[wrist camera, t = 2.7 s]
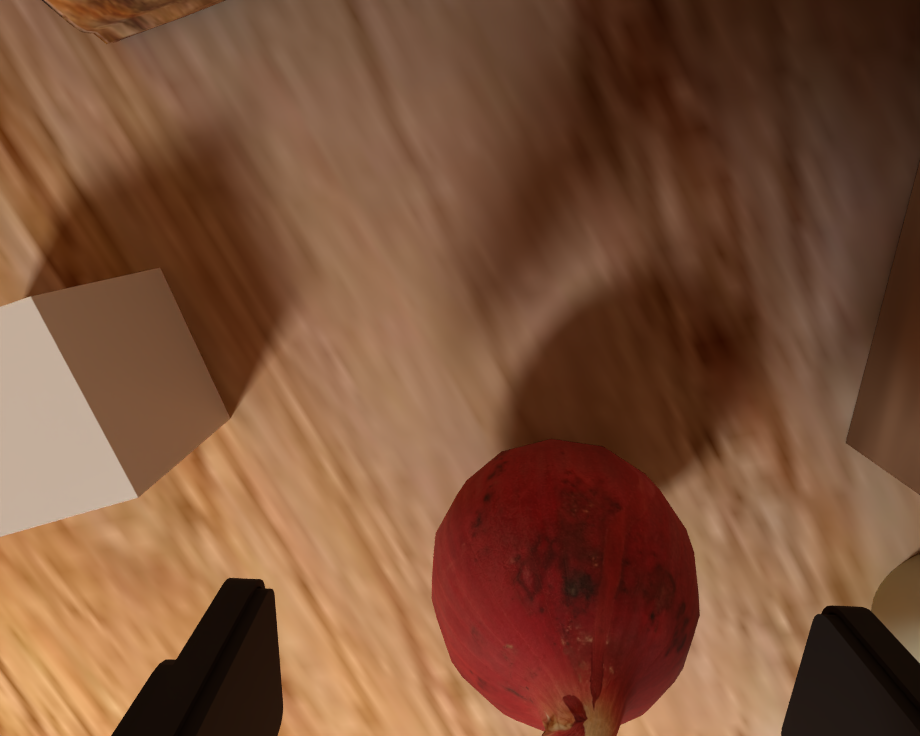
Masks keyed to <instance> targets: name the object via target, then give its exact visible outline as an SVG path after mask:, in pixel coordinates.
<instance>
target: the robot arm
mask: <svg viewBox="0 0 920 736" xmlns="http://www.w3.org/2000/svg"><path fill="white" fill-rule="evenodd" d="M282 715H283V697H282V685H281V672H280V659H279V646H278V633H277V620H276V608H275V595H274V591H273V589H265V586H264V582H263V580H260V579H241V578H229V579H227V580H226V581H225V582H224V584H223V585H222V587H221V588H220V590H219V591H218V593H217V595H216V596H215V598H214V600H213V601H212V603H211V604H210V606H209V608H208V609H207V611H206V612H205V614H204V616H203V617H202V619H201V621H200V622H199V624H198V625H197V627H196V629H195V630H194V632H193V633H192V635H191V637H190V638H189V640H188V642H187V643H186V645H185V646H184V648H183V650H182V651H181V653H180V654H179V656H178V658H177V659H176V660H164V661H163V662H162V663H160V664H159V665H158V666H157V668H156V669H155V670H154V671H153V673H152V674H151V676H150V677H149V679H148V680H147V682H146V683H145V685H144V686H143V688H142V689H141V691H140V693H139V694H138V696H137V697H136V699H135V700H134V702H133V703H132V705H131V706H130V708H129V709H128V711H127V712H126V714H125V716H124V717H123V719H122V720H121V722H120V723H119V725H118V726H117V728H116V729H115V731H114V732H113V734H112V735H111V736H277V735H278V732H279V729H280V726H281V721H282ZM781 736H920V663H919V662H918V661H917V660H916V659H915V658H914V657H913V656H912V654H911V653H910V652H909V651H908V650H907V649H906V648H905V647H904V646H903V645H902V644H901V643H900V642H899V640H898V639H897V638H896V637H895V636H894V635H893V634H892V633H891V632H890V631H889V630H888V629H887V628H886V626H885V625H884V624H883V623H882V622H881V621H880V620H879V619H878V618H877V617H876V616H875V615H874V614H873V613H872V612H871V611H870V610H869V609H867V608H864V607H851V606H827V607H826V608H824V609H823V611H822V613H821V614H817V615H816V616H815V617H814V619H813V622H812V625H811V629H810V632H809V636H808V639H807V643H806V646H805V650H804V653H803V657H802V660H801V664H800V667H799V671H798V674H797V678H796V681H795V685H794V688H793V692H792V695H791V698H790V702H789V705H788V709H787V712H786V716H785V719H784V723H783V726H782V732H781Z"/></svg>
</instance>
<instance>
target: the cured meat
mask: <svg viewBox="0 0 920 736" xmlns="http://www.w3.org/2000/svg"><path fill="white" fill-rule="evenodd" d="M42 1H43V2H44V3H46V4H47V5H48V6H49V7H50V8H51V9H53V10H54V11H55V12H56V13H57V14H59V15H60V16H61V17H62V18H63V19H65V20H66V21H67V22H68V23H69V24H71V25H72V26H73V27H75V28H76V29H78V30H80V31H81V32H84V33H93V34H95V35H96V36H97V37H99V38H100V39H101V40H102V41H104V42H105V43H106V44H108V43H110V42H117V41H119V40H122V39H124V38H127V37H130V36H133V35H135V34H138V33H141V32H144V31H146V30H149V29H152V28H155V27H157V26H160V25H163V24H166V23H168V22H171V21H174V20H177V19H179V18H182V17H185V16H187V15H190V14H192V13H195V12H197V11H200V10H202V9H205V8H208V7H210V6H213V5H215V4H218V3H220V2H223V1H225V0H42Z"/></svg>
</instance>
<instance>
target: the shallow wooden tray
mask: <svg viewBox="0 0 920 736" xmlns="http://www.w3.org/2000/svg"><path fill="white" fill-rule="evenodd" d="M846 443H847V444H848V445H850V446H851V447H853V448H854V449H855V450H857V451H858V452H860V453H861V454H862V455H864V456H865V457H867V458H868V459H870V460H871V461H872V462H874V463H875V464H877V465H878V466H880V467H881V468H882V469H884V470H885V471H887V472H888V473H889V474H891V475H892V476H894V477H895V478H897V479H898V480H899V481H901V482H902V483H904V484H905V485H907V486H908V487H909V488H911V489H912V490H914V491H915V492H916V493H918V494H919V495H920V162H919V166H918V170H917V174H916V178H915V181H914V185H913V189H912V193H911V197H910V201H909V204H908V208H907V212H906V216H905V220H904V223H903V227H902V231H901V235H900V239H899V242H898V246H897V250H896V254H895V258H894V261H893V265H892V269H891V273H890V277H889V280H888V284H887V288H886V292H885V296H884V300H883V303H882V307H881V311H880V315H879V319H878V322H877V326H876V330H875V334H874V338H873V341H872V345H871V349H870V353H869V357H868V360H867V364H866V368H865V372H864V376H863V380H862V383H861V387H860V391H859V395H858V399H857V402H856V406H855V410H854V414H853V418H852V421H851V425H850V429H849V433H848V437H847V440H846Z"/></svg>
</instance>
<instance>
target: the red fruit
mask: <svg viewBox="0 0 920 736" xmlns="http://www.w3.org/2000/svg"><path fill="white" fill-rule="evenodd" d="M432 602H433V606H434V609H435V613H436V617H437V620H438V623H439V626H440V629H441V632H442V635H443V638H444V641H445V644H446V647H447V650H448V652H449V655H450V658H451V661H452V663H453V664H454V666H455V667H456V668H457V670H458V671H459V673H460V674H461V676H462V677H463V678H464V679H465V680H466V681H467V682H468V683H470V684H471V685H472V686H473V687H474V688H475V689H476V690H477V691H478V692H479V693H481V694H482V695H483V696H484V697H485V698H486V699H487V700H488V701H489V702H490V703H491V704H493V705H494V706H495V707H496V708H497V709H498V710H500V711H501V712H502V713H503V714H505V715H507V716H509V717H511V718H513V719H515V720H517V721H519V722H522V723H524V724H527V725H529V726H532V727H535V728H537V729H540V730H542V731H544V733H543V734H542V736H616V735H617V733H618V730H619V727H620V725H621V724H624V723H626V722H628V721H630V720H632V719H635V718H637V717H639V716H641V715H643V714H644V713H645V712H646V711H647V710H648V709H649V708H651V706H652V705H653V704H654V703H655V702H656V701H657V700H658V699H659V698H660V697H661V696H662V695H663V694H664V693H665V692H666V690H667V689H668V688H669V687H670V686H671V685H672V684H673V683H674V682H675V680H676V679H677V677H678V675H679V674H680V672H681V671H682V669H683V667H684V664H685V661H686V657H687V654H688V651H689V648H690V645H691V642H692V639H693V636H694V633H695V629H696V626H697V622H698V619H699V616H700V612H699V594H698V584H697V575H696V566H695V557H694V551H693V548H692V545H691V542H690V539H689V536H688V533H687V530H686V528H685V527H684V525H683V524H682V522H681V521H680V519H679V518H678V516H677V515H676V513H675V512H674V510H673V509H672V507H671V506H670V504H669V503H668V501H667V500H666V498H665V497H664V495H663V494H662V492H661V491H660V490H659V488H658V487H657V486H656V485H655V484H654V483H653V482H652V481H651V480H650V479H649V478H648V477H647V476H646V474H644V473H643V472H641V471H640V470H638V469H637V468H635V467H634V466H632V465H631V464H629V463H628V462H626V461H625V460H623V459H622V458H620V457H619V456H617V455H616V454H614V453H613V452H611V451H610V450H608V449H606V448H605V447H602V446H596V445H589V444H582V443H575V442H569V441H562V440H555V439H549V440H545V441H541V442H537V443H533V444H529V445H526V446H522V447H518V448H514V449H510V450H506V451H502V452H500V453H499V454H498V455H497V456H496V457H494V458H493V459H492V460H491V461H490V462H488V463H487V464H486V465H485V466H484V467H482V468H481V469H480V470H479V471H478V472H476V473H475V474H474V475H473V476H472V477H470V478H469V479H468V480H467V481H466V482H465V484H464V485H463V487H462V488H461V490H460V491H459V493H458V494H457V496H456V498H455V499H454V501H453V503H452V505H451V507H450V509H449V510H448V512H447V514H446V516H445V518H444V519H443V521H442V523H441V525H440V527H439V528H438V530H437V532H436V536H435V546H434V557H433V572H432Z"/></svg>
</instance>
